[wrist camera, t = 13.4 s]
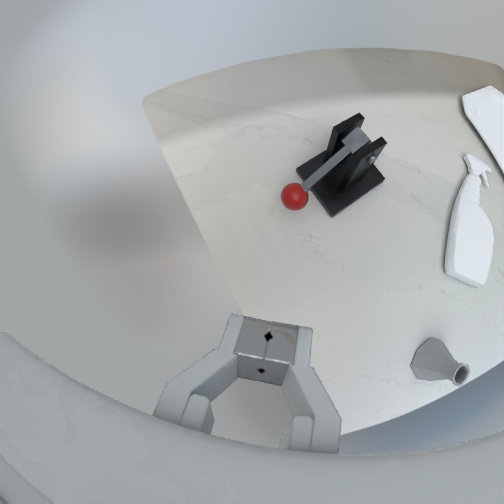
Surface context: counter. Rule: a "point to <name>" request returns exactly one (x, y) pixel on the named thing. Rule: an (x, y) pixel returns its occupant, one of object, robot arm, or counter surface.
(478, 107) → the plate
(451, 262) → the spray bottle
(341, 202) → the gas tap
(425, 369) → the flask
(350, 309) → the counter surface
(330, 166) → the lever
